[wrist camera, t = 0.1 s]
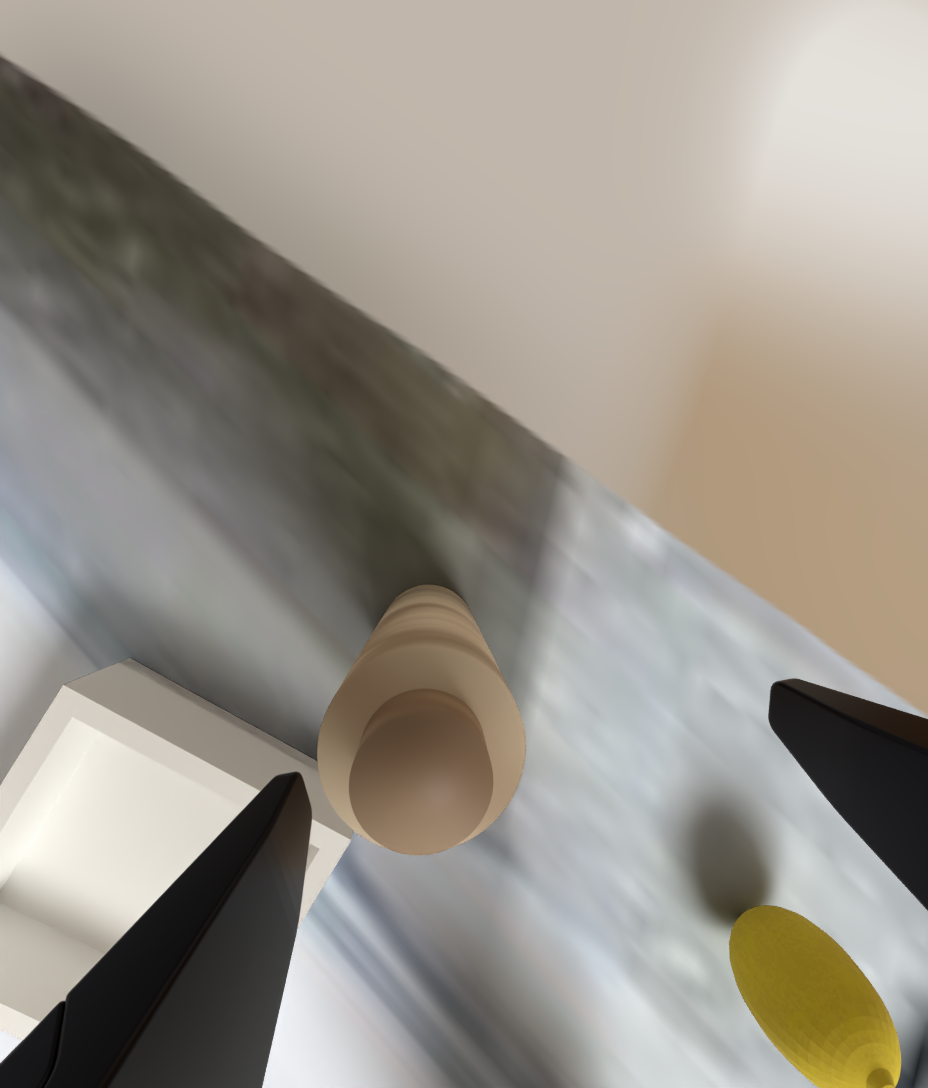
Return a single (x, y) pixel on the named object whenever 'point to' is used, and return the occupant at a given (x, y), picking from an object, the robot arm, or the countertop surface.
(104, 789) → the bin
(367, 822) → the pepper mill
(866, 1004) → the lemon
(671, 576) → the countertop surface
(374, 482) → the countertop surface
